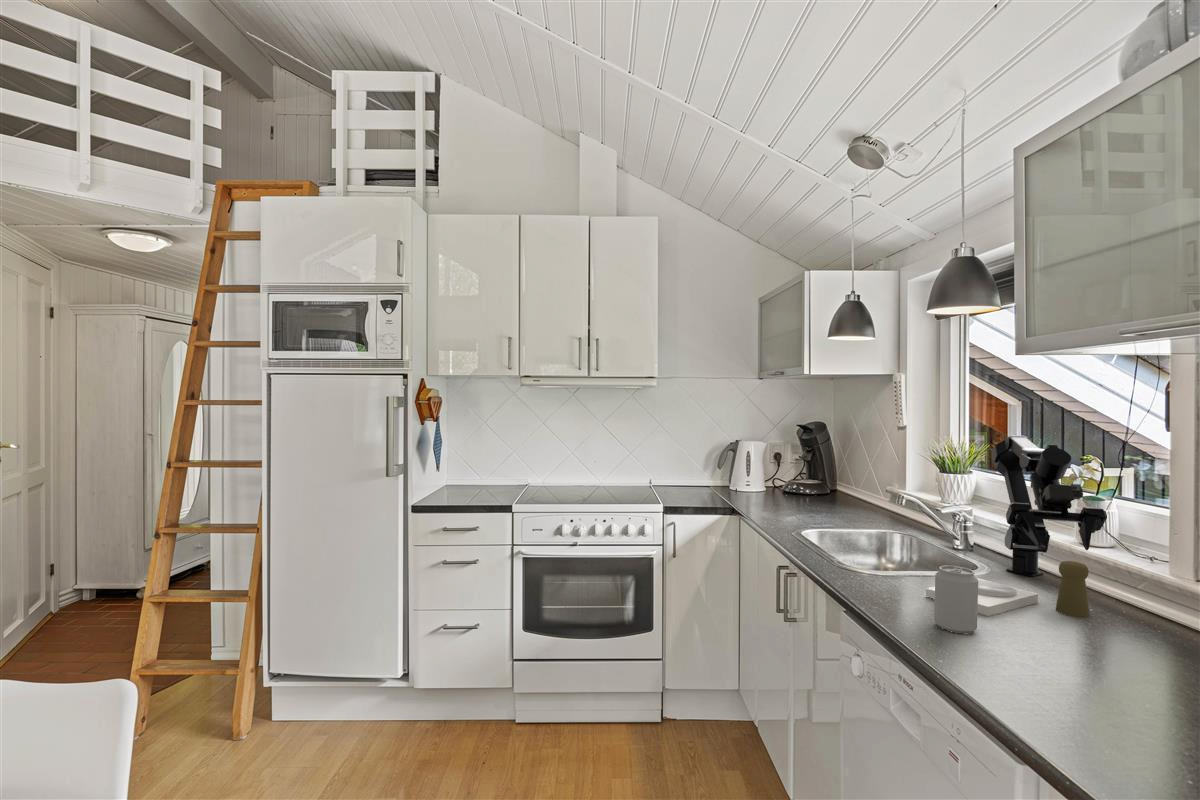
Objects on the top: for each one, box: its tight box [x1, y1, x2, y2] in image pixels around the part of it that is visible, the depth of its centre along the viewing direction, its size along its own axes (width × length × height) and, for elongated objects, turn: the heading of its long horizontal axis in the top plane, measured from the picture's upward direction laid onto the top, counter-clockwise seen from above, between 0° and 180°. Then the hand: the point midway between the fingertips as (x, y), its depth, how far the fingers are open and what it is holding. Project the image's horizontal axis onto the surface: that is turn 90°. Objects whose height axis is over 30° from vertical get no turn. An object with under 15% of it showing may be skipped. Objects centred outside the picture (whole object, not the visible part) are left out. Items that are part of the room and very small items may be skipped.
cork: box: [1055, 560, 1091, 619], centre depth 135 cm, size 6×6×11 cm
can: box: [933, 565, 979, 634], centre depth 125 cm, size 8×8×12 cm
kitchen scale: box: [925, 577, 1039, 617], centre depth 143 cm, size 20×14×3 cm
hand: (1063, 547), depth 141 cm, fingers open, 9 cm apart
